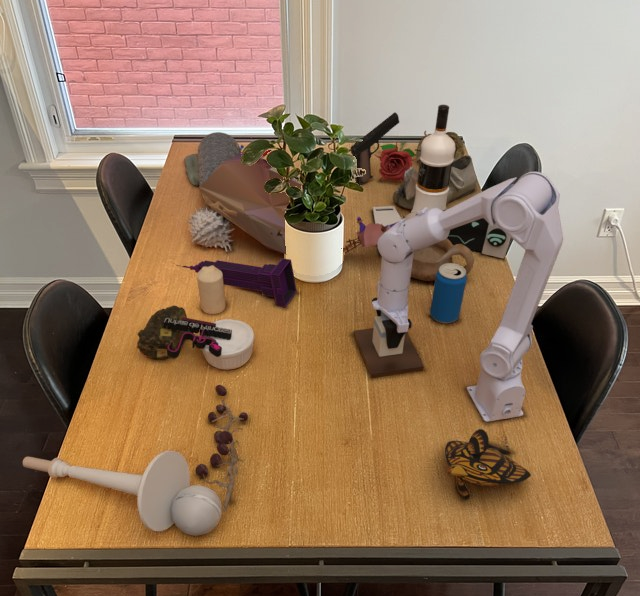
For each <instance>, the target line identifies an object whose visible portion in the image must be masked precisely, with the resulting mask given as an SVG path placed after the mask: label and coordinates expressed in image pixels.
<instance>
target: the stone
mask: <svg viewBox="0 0 640 596" xmlns="http://www.w3.org/2000/svg"><path fill="white" fill-rule="evenodd" d="M184 165H185V166H186V167H185V172H186V174H187V178H188V180H189V182H190V184H191V185H193V186H196V187H198V186H200V184H199V169H198V153H192V154H189V155H186V156H185V157H184Z"/></svg>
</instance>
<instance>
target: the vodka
mask: <svg viewBox="0 0 640 596" xmlns="http://www.w3.org/2000/svg"><path fill="white" fill-rule="evenodd" d="M449 111H450V106H449V105H447V104H439V105H438V106H437V112H436V113H437V114H436V120H435V129H434V132H433V133H430V134H431V135H429V136H427V137H426V138H425V139H424V140H423V141H422V144H421V155H420V162H418V163H419V164H418V171H417V173H418V179H417V184H416V195H415V201H414V205H413V209H412V210H411V211H410V213H411V212H419V211H420V210H421V209H423V208H425V207H427V209H428V210H430V209H432V208H438V209H440V210H447V204H446V201H447V194H448V191H449V180H450V174H451V168H452V162H453V160H454V153H455V149H456V148H455V143H454V141H453V139H451V138H450V137H449V136H448V135H446V133H447V126H448V119H449V113H450V112H449Z"/></svg>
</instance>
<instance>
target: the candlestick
mask: <svg viewBox="0 0 640 596" xmlns="http://www.w3.org/2000/svg"><path fill="white" fill-rule="evenodd" d="M22 466H23V468H26V469H32V470H35V471H39V472H45V473H48V475H49V477H50V478H51V479H54V480H55V479H58V478H64V477H66V476H69V478H71V479H76V480H80V481H84V482H86V483H91V484H94V485H97V486H101V487H105V488H109V489H112V490H115V491H119V492H122V493H126V494H130V495H133V496H137V497H136V499H137V500H136V501H137V502H136V503H137V511H138V516H139V518H140V520H141V523H142V524H143V525H144V526H145V527H146V528H147V529H149V530H150V531H152V532H153V531H154V532H163V531H166V530H168V529H169V528H171V527H172V526H173V525H175V523H174V521H173V519H172V514H171V508H172V503H173V501H174V499H175V497H176V495H177V494H178V493H179V492H180V491H181V490H183V489H185V488H186V487H189V486H191V473H190V467H189V465H188V462H187V460H186V457H184V456H183V454H182V453H181V452H179V451H175V450H165V451H162V452H160V453H158V454H157V455H156V456H155V457H154V458H153V459H152V460H151V461H150V462H149V463H148V464H147V466H146V468H145V470H144V471H143V474H135V473H129V472H121V471H114V470H107V469H101V468H100V469H99V468H93V467H86V466H85V467H84V466H79V465H78V466H77V465H70V464H69V463H68V462H66V461H64V460H63V459H62V458H60V457H54V458H53V459H52V460H47V459H43V458H38V457H33V456H25V457H24V458H23V459H22Z"/></svg>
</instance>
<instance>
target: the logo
mask: <svg viewBox="0 0 640 596" xmlns="http://www.w3.org/2000/svg"><path fill="white" fill-rule="evenodd" d="M166 326H167V329H174V331H176V330H180V331H185V333H183V334H182V335H181V337H180V341H179V344H178V347H177V349H176V350H175V351H173V350H172V342H170V343H169V344H168V345H167V355H168V358H171V359H177V358H178V357H180V355H181V352H182V349H183V345H184V342H185V341H188V340H189V341H191V347H192V349H195V347H196V349H198V350H202V349H203V348H205V346H206V345H209V352H210V353H212V354H213V355H214V356H216V357H219V356H220V355H221V353H222V347H221V346H219V345H218V342H216V340H215V339H213V338H208V336H214V337H218V338H223V339H227V340H230V339H231V336H232V330H230V329H223V328H218V327H216V323H213V322H210V321H205V320H200V319H194V318H189V317H187V318H184V317H183V318H182V320H178V322H177V319H172V318H171V319H170V318H165V319H164V329H166ZM188 329H189V332H187V331H188ZM199 334H200V336H199ZM204 335H206V336H207V337H204Z"/></svg>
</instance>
